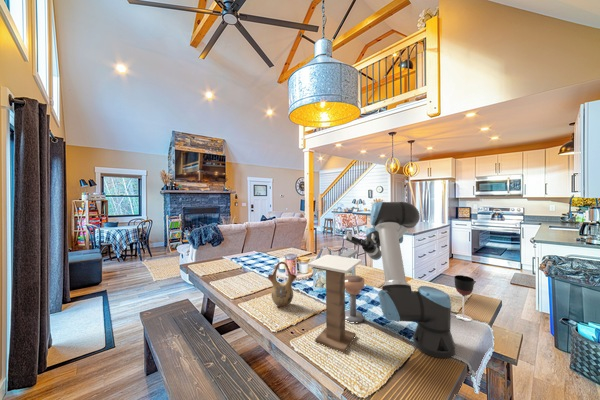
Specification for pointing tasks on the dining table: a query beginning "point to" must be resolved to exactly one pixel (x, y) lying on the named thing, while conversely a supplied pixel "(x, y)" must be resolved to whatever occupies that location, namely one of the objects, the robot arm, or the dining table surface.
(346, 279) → the brown goblet
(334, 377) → the dining table surface
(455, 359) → the dining table surface
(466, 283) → the wineglass
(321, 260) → the lid
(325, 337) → the stand
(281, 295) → the ceramic vessel
